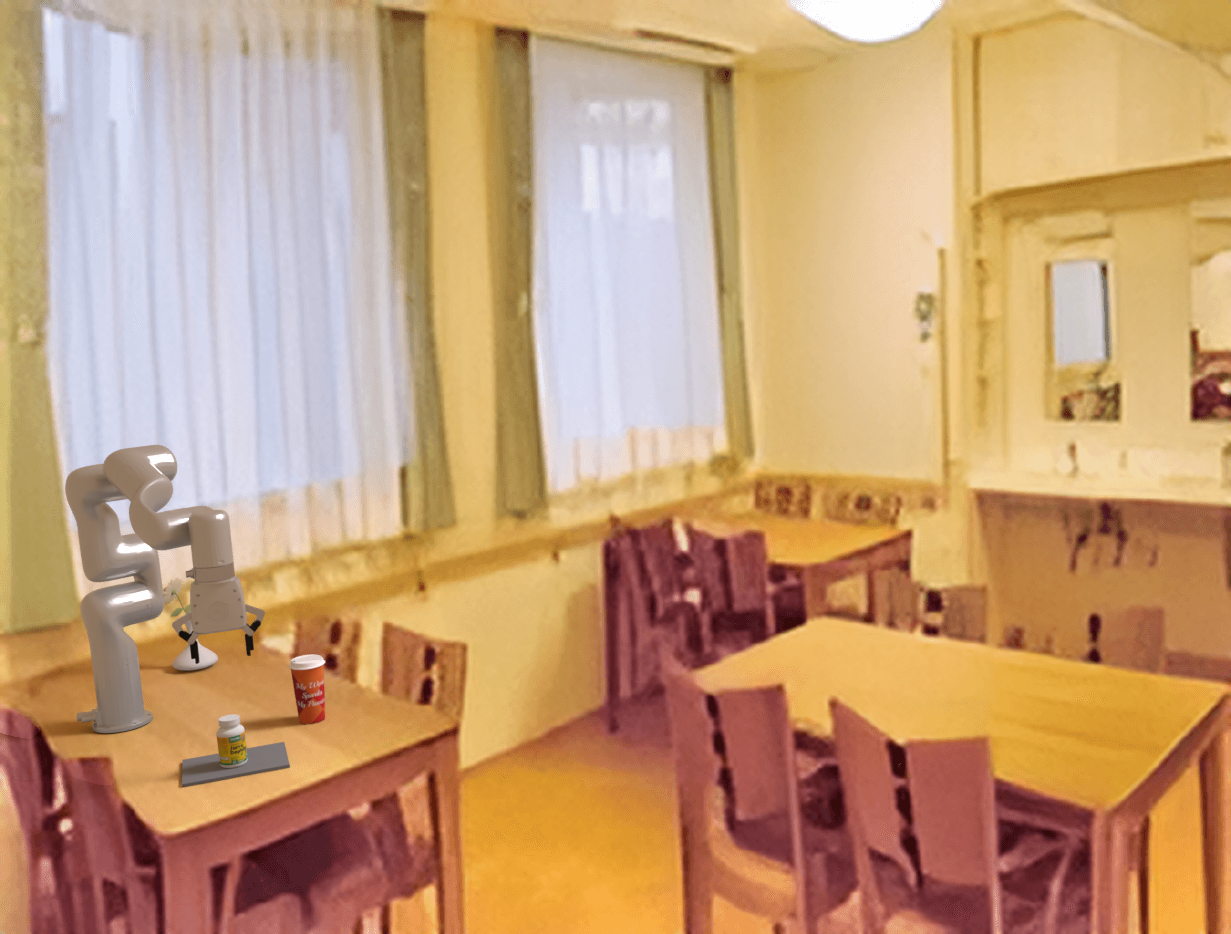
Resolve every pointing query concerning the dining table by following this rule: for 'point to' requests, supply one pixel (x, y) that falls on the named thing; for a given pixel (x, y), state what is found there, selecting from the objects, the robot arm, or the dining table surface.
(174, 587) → the flower in vase
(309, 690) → the paper cup
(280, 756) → the charcoal mat
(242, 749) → the supplement bottle
